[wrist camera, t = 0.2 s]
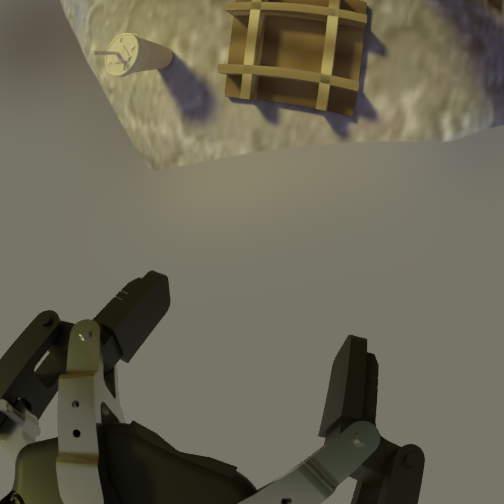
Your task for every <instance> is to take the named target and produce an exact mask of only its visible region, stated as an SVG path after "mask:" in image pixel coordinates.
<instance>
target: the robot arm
mask: <svg viewBox="0 0 504 504" xmlns="http://www.w3.org/2000/svg"><path fill="white" fill-rule="evenodd" d="M169 306H170V293H169V283H168V277H167V276H166V275H163V274H160V273H158V272H155V271H149V272H148V273H147V274H146V275H145V276H144V277H143V278H137V279H135V280H133V281H131V282H129V283H128V284H127V285H126V286H125V287H124V288H123V289H122V290H121V292H119V293H118V294H117V295H116V297H114V298H113V299H112V300H111V301H110V302H109V303H108V304H107V305H106V306H105V307H104V308H103V310H101V312H100V313H99V314H98V315H97V316H96V317H95V318H94V319H93V320H88V319H87V320H81V321H79V322H78V323H76V324H73V323H68V322H64V321H61V320H60V318H59V316H58V314H57V313H56V312H54V311H51V310H48V311H44V312H42V313H40V314H39V315H38V316H37V317H36V318H35V319H34V320H33V321H32V322H31V323H30V325H29V326H28V327H27V328H26V329H25V330H24V331H23V333H22V334H21V335H20V336H19V337H18V339H17V340H16V341H15V342H14V343H13V344H12V345H11V347H10V348H9V349H8V350H7V352H6V353H5V354H4V356H3V357H2V358H1V359H0V445H1V446H2V447H3V448H4V449H5V451H6V452H7V453H8V454H9V455H10V456H11V457H12V458H13V459H14V460H15V461H16V463H15V464H16V465H15V480H14V484H13V488H12V490H11V492H10V493H9V494H8V495H7V496H6V497H4V498H3V499H2V500H0V504H320V503H322V502H323V501H324V500H325V499H327V498H328V497H329V496H331V495H332V494H333V492H334V491H335V489H336V487H337V486H338V485H339V484H340V483H341V482H343V481H344V480H345V479H346V478H347V477H348V476H349V477H352V478H354V479H356V480H358V481H357V484H356V488H355V491H354V495H353V498H352V501H351V504H417V503H418V498H419V493H420V488H421V483H422V477H423V470H424V462H425V457H424V453H423V451H422V450H421V448H420V447H418V446H416V445H414V444H408V445H405V446H403V447H400V446H398V445H396V444H393V443H391V442H389V441H387V440H386V439H384V438H383V437H382V436H381V435H380V433H379V431H378V429H377V428H376V424H375V417H376V406H377V391H378V388H377V386H378V379H377V378H378V363H377V360H376V357H375V355H374V354H372V353H368V352H367V339H365V338H361V337H357V336H354V335H349V336H348V337H347V339H346V340H345V342H344V344H343V346H342V347H341V349H340V350H339V352H338V354H337V356H336V357H335V360H334V362H333V366H332V371H331V376H330V382H329V388H328V393H327V398H326V403H325V408H324V413H323V417H322V422H321V426H320V431H319V435H318V436H320V437H325V443H324V446H323V447H322V448H320V449H319V450H317V451H316V452H315V453H313V454H312V455H311V456H309V457H308V458H307V459H305V460H304V461H302V462H301V463H300V464H298V465H297V466H295V467H294V468H292V469H291V470H289V471H288V472H286V473H285V474H283V475H282V476H280V477H278V478H277V479H275V480H273V481H272V482H270V483H268V484H267V485H265V486H263V487H262V488H260V489H258V490H256V488H255V486H254V485H253V484H252V483H251V482H250V481H249V480H248V479H247V478H246V477H245V476H243V475H242V474H241V473H239V472H237V471H236V469H237V467H236V466H233V465H230V464H227V463H224V462H221V461H218V460H216V459H213V458H210V457H205V456H198V455H193V454H187V453H183V452H179V451H177V450H176V449H175V448H173V447H172V446H171V445H170V444H168V443H167V442H166V441H164V439H162V438H161V437H160V436H159V435H158V434H156V433H155V432H153V431H151V430H149V429H147V428H146V427H144V426H142V425H140V424H138V423H137V422H135V421H132V422H131V424H126V423H125V421H124V416H123V412H122V408H121V406H120V402H119V392H118V377H117V364H116V363H117V362H118V361H119V359H121V360H123V361H125V362H127V363H128V362H129V361H130V360H131V358H132V357H133V356H134V354H135V353H136V351H137V350H138V349H139V348H140V346H141V345H142V344H143V342H144V341H145V340H146V338H147V337H148V336H149V334H150V333H151V332H152V331H153V329H154V328H155V327H156V325H157V324H158V323H159V321H160V320H161V319H162V318H163V316H164V315H165V314H166V312H167V311H168V308H169ZM47 351H49V352H50V353H49V355H48V356H47V357H46V359H45V360H44V361H43V362H42V364H41V365H40V366H39V367H38V369H37V370H36V371H35V372H34V368H35V366H36V365H37V363H38V362H39V361H40V359H41V358H42V357H43V356H44V354H45V353H46V352H47ZM57 391H58V437H56V438H52V439H47V440H43V441H38V442H35V438H36V436H38V435H40V428H39V424H38V420H39V418H40V417H41V415H42V413H43V412H44V410H45V409H46V407H47V406H48V404H49V403H50V401H51V400H52V398H53V397H54V395H55V394H56V392H57Z"/></svg>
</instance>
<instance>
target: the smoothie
mask: <svg viewBox="0 0 504 504" xmlns="http://www.w3.org/2000/svg"><path fill="white" fill-rule="evenodd" d="M92 55H105V66H106V69H107V71H108V72H109V73H110V74H111V75H113V76H119V77H122V76H127V75H129V74H130V73H134V72H140V71H146V70H153V69H161V68H165V67H167V66H168V65H169V64H170V63H171V61H172V57H173V54H172V51H171V50H170V49H169V48H167V47H164V46H162V45H159V44H156V43H154V42H151V41H148V40H145V39H143V38H140V37H139V36H138V35H137V34H134V33H123V34H120V35H118V36H117V37H116V38H114V39H113V40H112V42H111V43H110V44H109V46H108V48H107V51H93V52H92Z"/></svg>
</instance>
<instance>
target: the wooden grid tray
mask: <svg viewBox="0 0 504 504" xmlns="http://www.w3.org/2000/svg"><path fill="white" fill-rule="evenodd" d="M366 7H367V2H364V1H359V0H236V2H235V3H226V7H225V11H227V12H228V13H230V14H231V15H233V16H234V18H233V26H232V34H231V42H230V50H229V59H228V64H218V73H222V74H227V78H226V88H225V97H236V98H241V99H257V100H266V101H274V102H281V103H288V104H294V105H300V106H306V107H311V108H316V109H318V110H323V111H331V112H335V113H340V114H344V115H348V116H352V117H353V112H354V106H355V100H356V94H357V92H358V90H359V84H360V82H358V81H359V74H360V66H361V58H362V50H363V41H364V31H365V27H366V24H367V15H366Z"/></svg>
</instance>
